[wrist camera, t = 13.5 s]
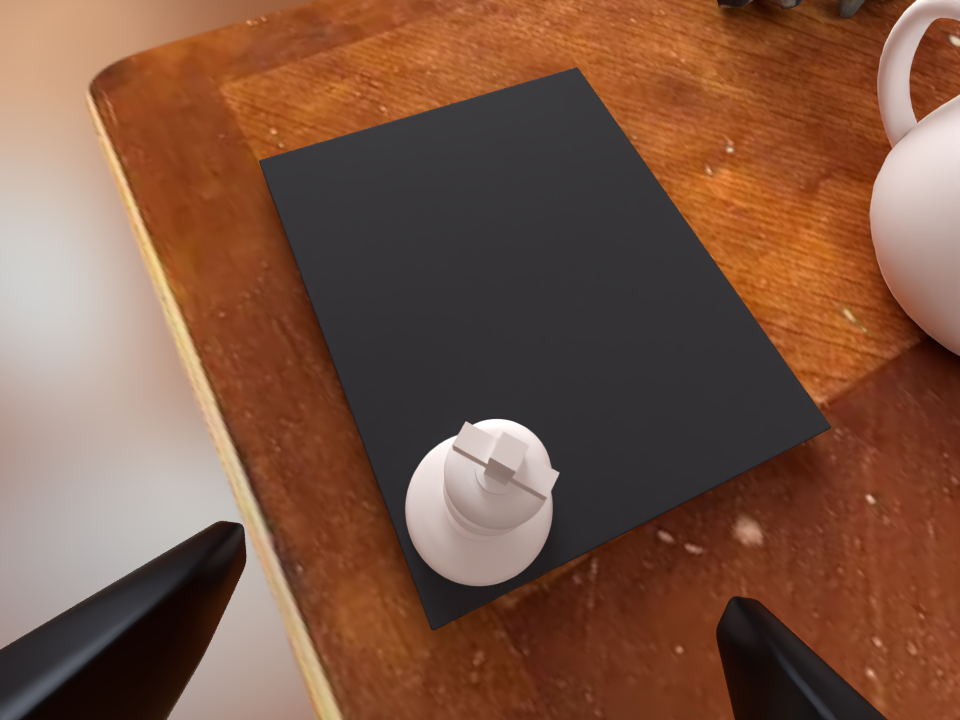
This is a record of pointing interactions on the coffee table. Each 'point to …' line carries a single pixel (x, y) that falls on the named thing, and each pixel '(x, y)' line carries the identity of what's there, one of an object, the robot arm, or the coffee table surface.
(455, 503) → the chess piece
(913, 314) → the teapot
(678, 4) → the coffee table surface
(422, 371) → the mat
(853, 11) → the decorative stone
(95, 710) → the robot arm
